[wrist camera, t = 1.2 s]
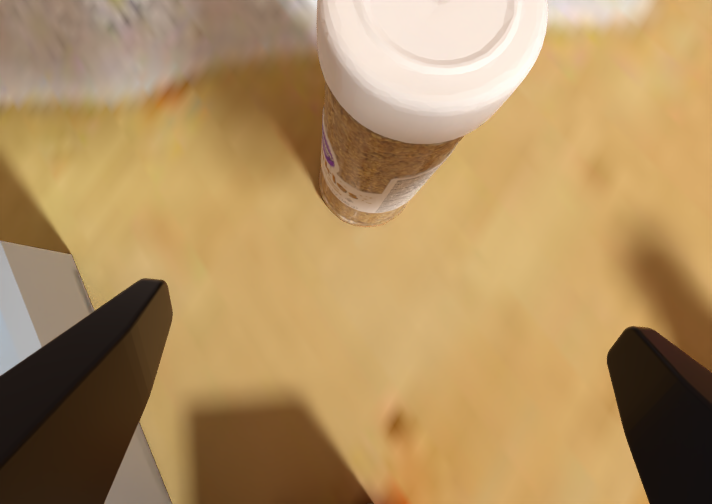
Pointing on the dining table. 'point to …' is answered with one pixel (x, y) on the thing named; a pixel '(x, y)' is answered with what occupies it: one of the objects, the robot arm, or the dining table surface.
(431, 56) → the sprinkles bottle
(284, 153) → the dining table surface
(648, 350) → the robot arm
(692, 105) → the dining table surface
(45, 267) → the tray
